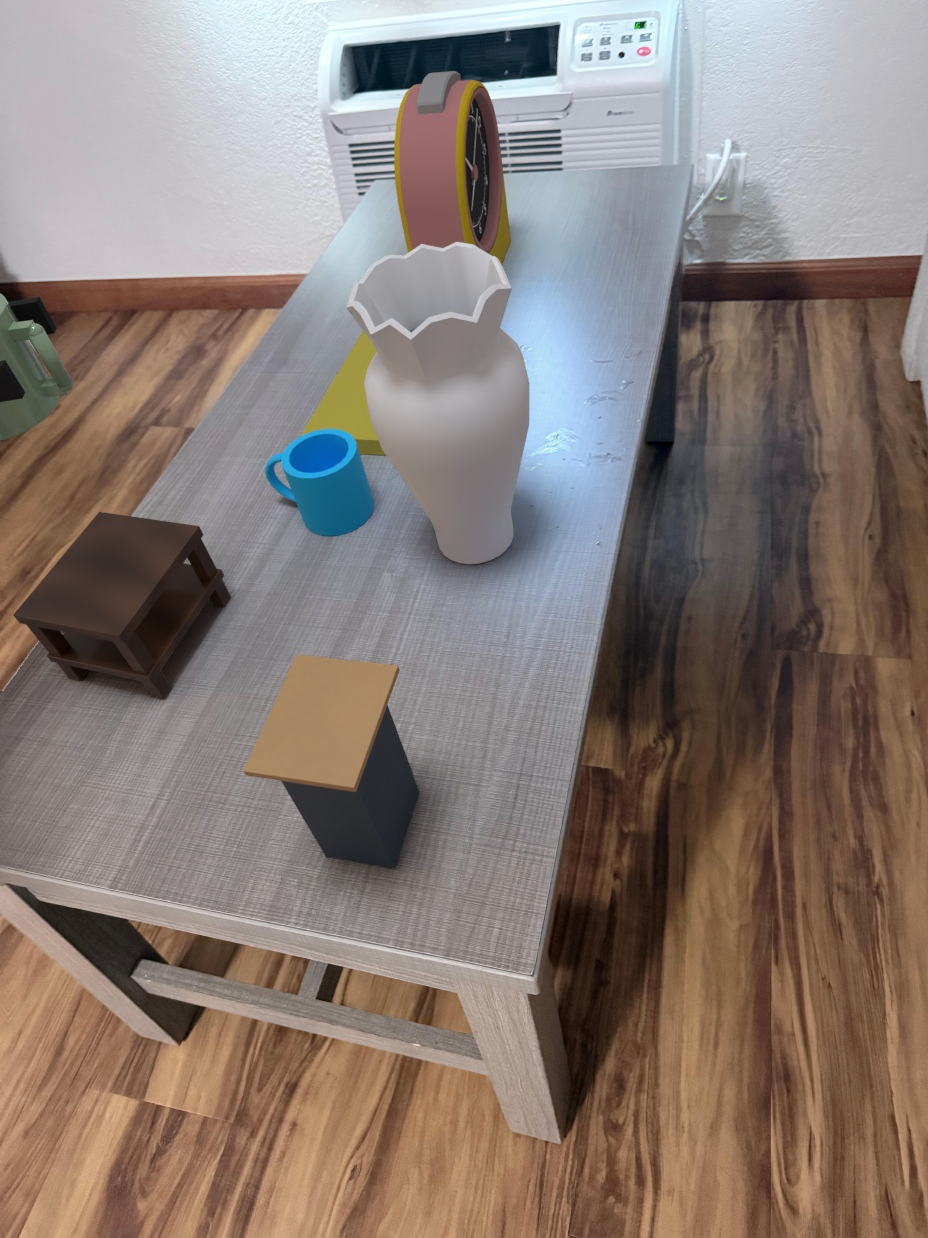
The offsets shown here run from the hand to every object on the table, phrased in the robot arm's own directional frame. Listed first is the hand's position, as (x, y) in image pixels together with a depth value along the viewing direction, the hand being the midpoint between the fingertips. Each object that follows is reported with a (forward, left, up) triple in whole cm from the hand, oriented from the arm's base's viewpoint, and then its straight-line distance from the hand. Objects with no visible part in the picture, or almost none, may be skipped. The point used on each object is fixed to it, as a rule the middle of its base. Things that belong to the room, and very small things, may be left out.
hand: (30, 345), depth 65 cm
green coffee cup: (-3, +2, -5) cm, 6 cm away
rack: (-4, +3, -33) cm, 33 cm away
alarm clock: (+64, +30, -33) cm, 78 cm away
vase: (+28, -12, -33) cm, 45 cm away
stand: (0, -31, -33) cm, 45 cm away
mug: (+20, +5, -33) cm, 39 cm away
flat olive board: (+38, +17, -33) cm, 53 cm away
